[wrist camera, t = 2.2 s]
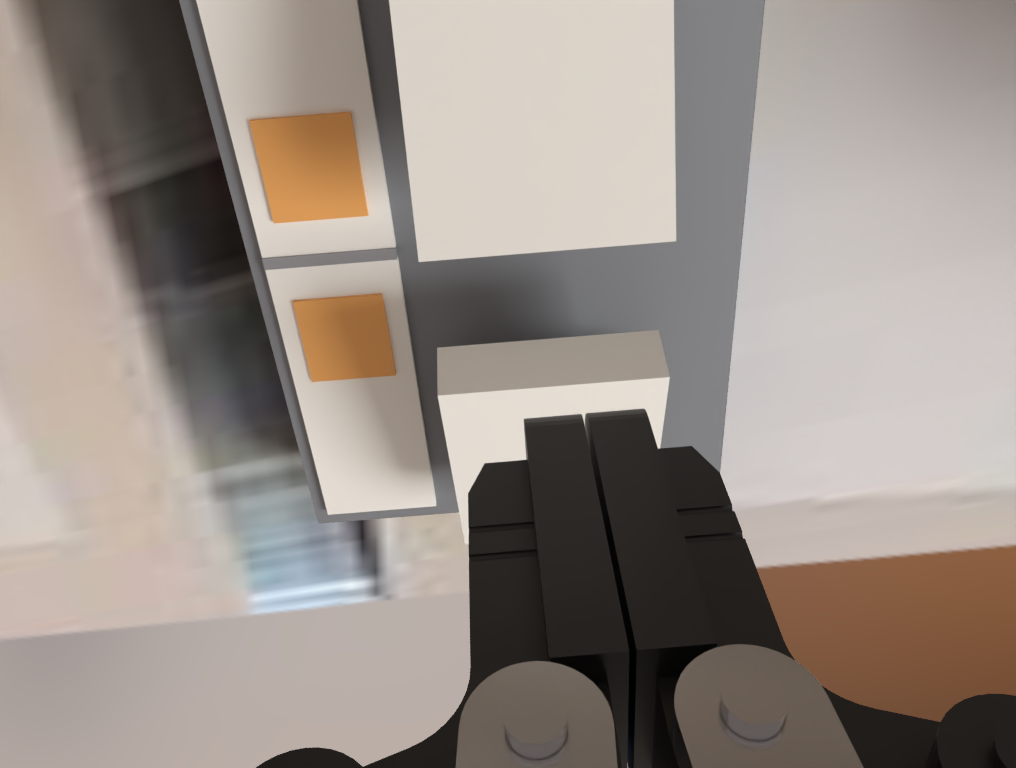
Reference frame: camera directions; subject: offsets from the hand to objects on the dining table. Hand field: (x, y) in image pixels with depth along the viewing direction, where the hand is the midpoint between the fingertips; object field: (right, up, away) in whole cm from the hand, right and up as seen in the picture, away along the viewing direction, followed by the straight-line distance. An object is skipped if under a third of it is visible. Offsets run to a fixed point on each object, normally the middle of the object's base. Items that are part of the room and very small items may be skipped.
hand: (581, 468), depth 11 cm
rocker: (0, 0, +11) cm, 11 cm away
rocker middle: (0, +7, +6) cm, 10 cm away
